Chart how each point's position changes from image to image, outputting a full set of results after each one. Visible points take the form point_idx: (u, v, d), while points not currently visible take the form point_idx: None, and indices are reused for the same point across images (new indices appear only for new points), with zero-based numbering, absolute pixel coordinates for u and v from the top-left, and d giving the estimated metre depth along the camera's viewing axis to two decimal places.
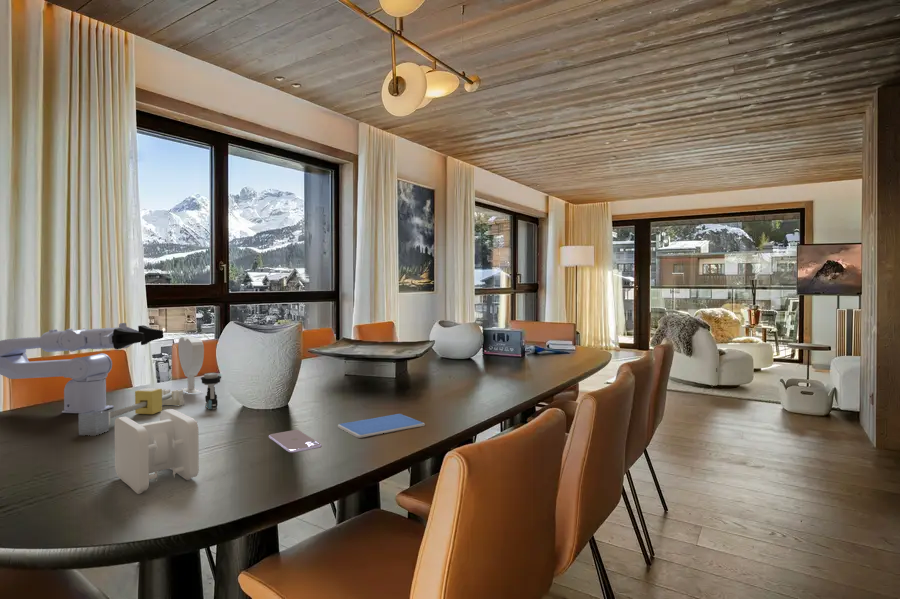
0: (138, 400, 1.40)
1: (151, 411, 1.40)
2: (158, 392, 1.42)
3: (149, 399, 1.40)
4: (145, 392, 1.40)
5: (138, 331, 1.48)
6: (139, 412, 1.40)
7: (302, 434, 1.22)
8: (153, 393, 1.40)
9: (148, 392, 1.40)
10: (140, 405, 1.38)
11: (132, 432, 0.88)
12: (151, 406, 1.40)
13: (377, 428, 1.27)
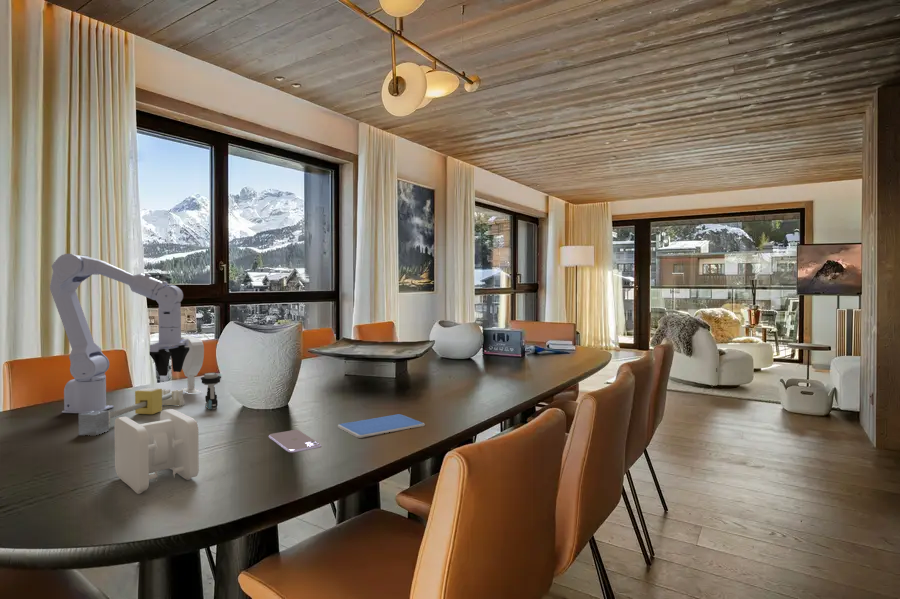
0: (138, 400, 1.40)
1: (151, 411, 1.40)
2: (158, 392, 1.42)
3: (149, 399, 1.40)
4: (145, 392, 1.40)
5: (185, 342, 1.53)
6: (139, 412, 1.40)
7: (302, 434, 1.22)
8: (153, 393, 1.40)
9: (148, 392, 1.40)
10: (140, 405, 1.38)
11: (132, 432, 0.88)
12: (151, 406, 1.40)
13: (377, 428, 1.27)
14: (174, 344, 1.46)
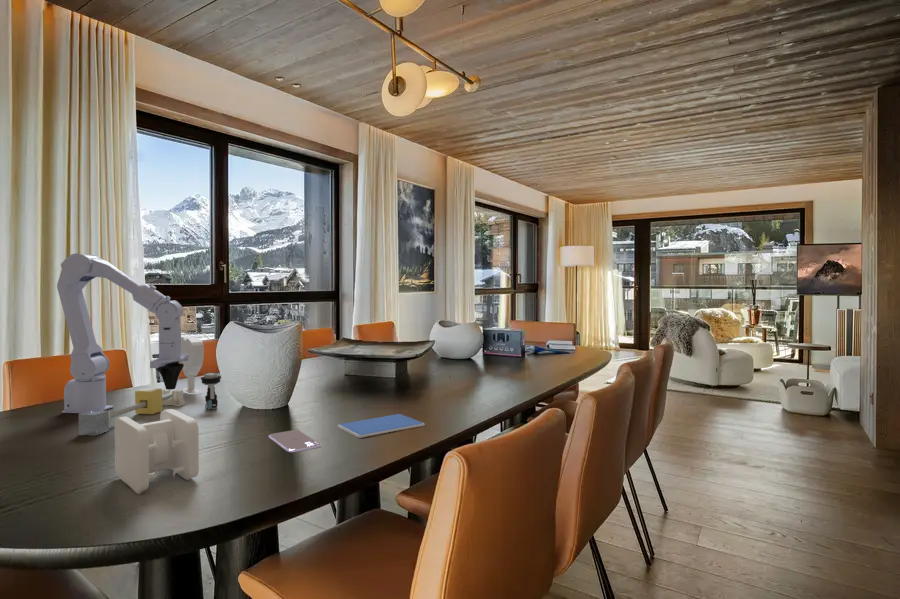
0: (138, 400, 1.40)
1: (151, 411, 1.40)
2: (158, 392, 1.42)
3: (149, 399, 1.40)
4: (145, 392, 1.40)
5: (185, 357, 1.54)
6: (139, 412, 1.40)
7: (302, 434, 1.22)
8: (153, 393, 1.40)
9: (148, 392, 1.40)
10: (140, 405, 1.38)
11: (132, 432, 0.88)
12: (151, 406, 1.40)
13: (377, 428, 1.27)
14: (174, 360, 1.46)
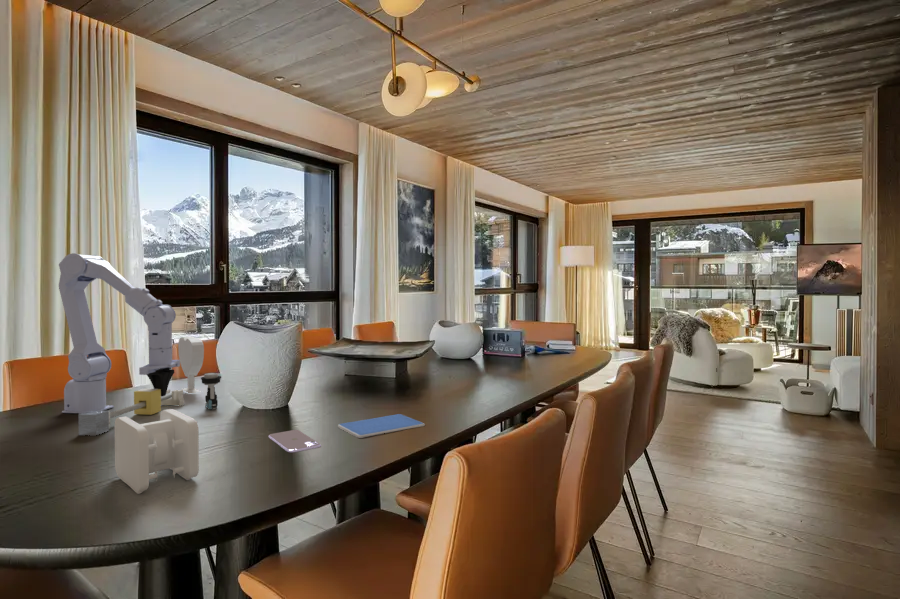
0: (137, 400, 1.40)
1: (150, 411, 1.39)
2: (157, 392, 1.42)
3: (148, 399, 1.39)
4: (144, 392, 1.39)
5: (176, 363, 1.50)
6: (138, 412, 1.40)
7: (302, 434, 1.22)
8: (152, 393, 1.40)
9: (147, 392, 1.39)
10: (140, 405, 1.38)
11: (132, 432, 0.88)
12: (150, 406, 1.39)
13: (377, 428, 1.27)
14: (165, 366, 1.42)
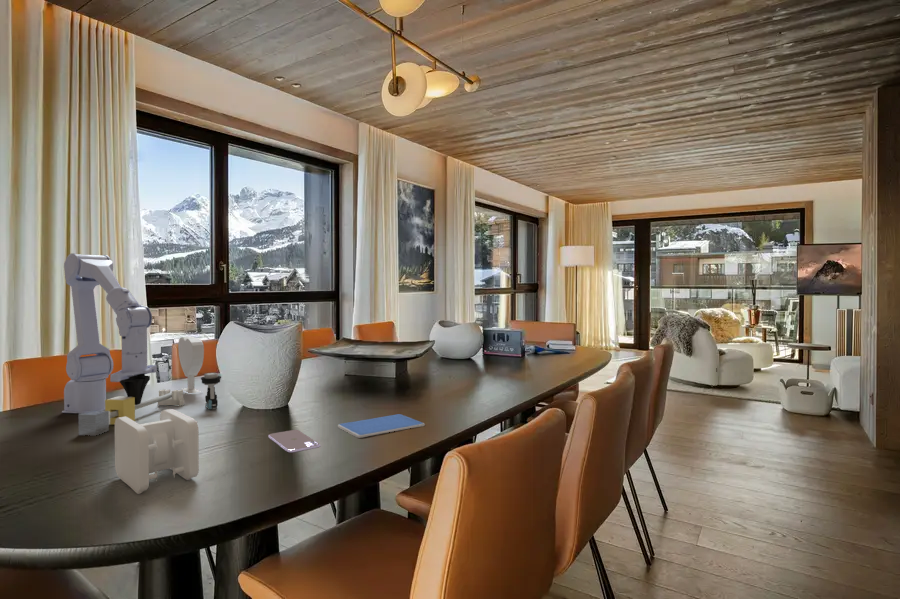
0: (108, 409, 1.30)
1: None
2: (131, 400, 1.32)
3: (120, 408, 1.29)
4: (116, 401, 1.29)
5: (152, 369, 1.39)
6: None
7: (302, 434, 1.22)
8: (124, 402, 1.30)
9: (119, 401, 1.29)
10: (140, 405, 1.38)
11: (132, 432, 0.88)
12: (122, 416, 1.29)
13: (377, 428, 1.27)
14: (139, 372, 1.32)
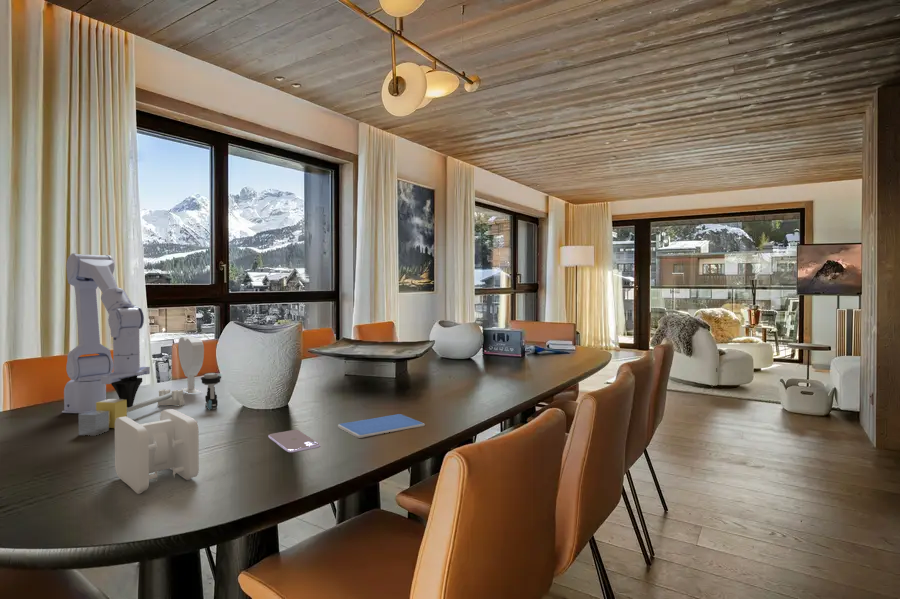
0: None
1: (113, 424, 1.26)
2: (123, 403, 1.29)
3: (111, 411, 1.26)
4: (107, 403, 1.27)
5: (145, 371, 1.37)
6: None
7: (302, 434, 1.22)
8: (116, 405, 1.27)
9: (110, 403, 1.26)
10: (140, 405, 1.38)
11: (132, 432, 0.88)
12: (114, 419, 1.26)
13: (377, 428, 1.27)
14: (131, 374, 1.29)
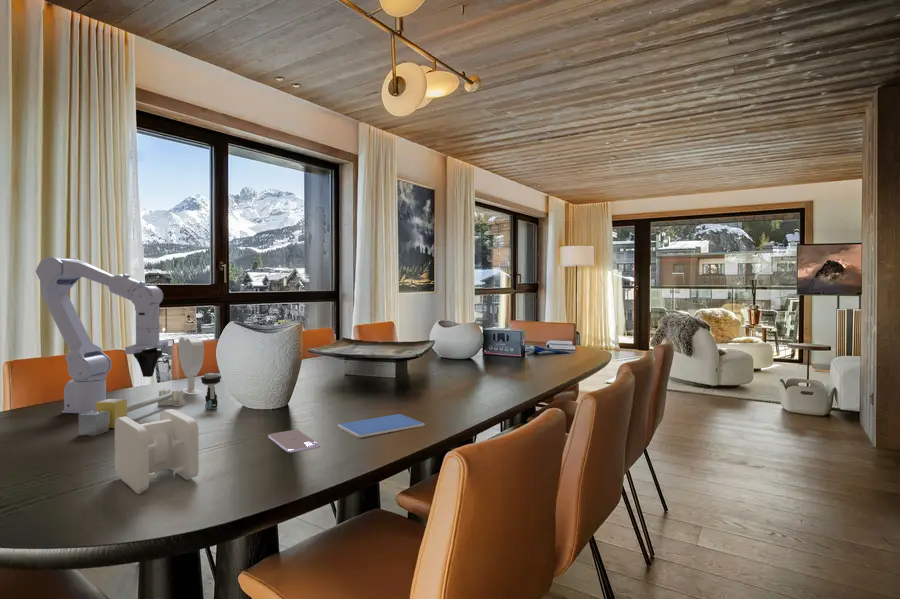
0: None
1: (113, 424, 1.26)
2: (123, 403, 1.29)
3: (111, 411, 1.26)
4: (107, 403, 1.27)
5: (164, 344, 1.49)
6: None
7: (301, 434, 1.22)
8: (116, 405, 1.27)
9: (110, 403, 1.26)
10: (140, 405, 1.38)
11: (132, 432, 0.88)
12: (114, 419, 1.26)
13: (377, 428, 1.27)
14: (151, 346, 1.42)
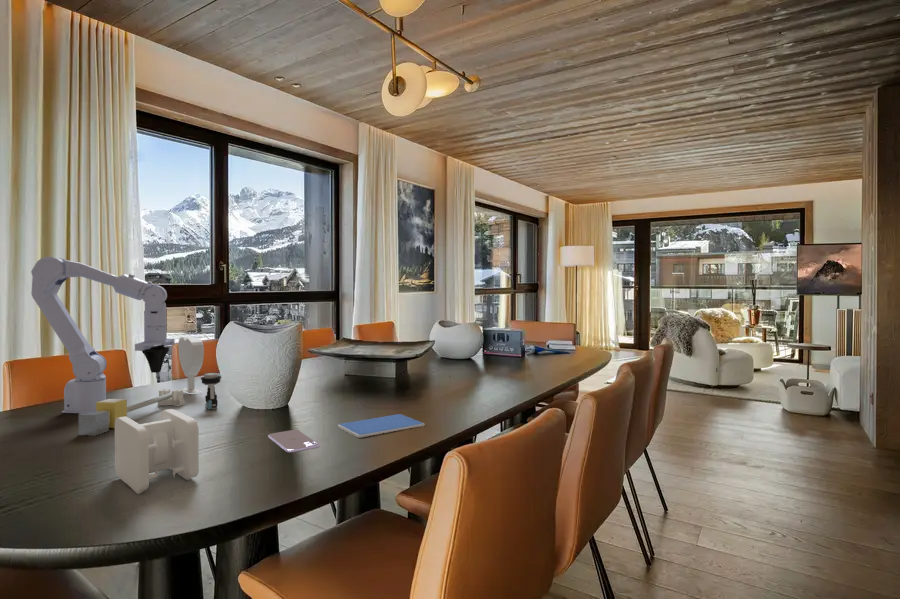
0: None
1: (113, 424, 1.26)
2: (123, 403, 1.29)
3: (111, 411, 1.26)
4: (107, 403, 1.27)
5: (170, 341, 1.56)
6: None
7: (301, 434, 1.22)
8: (116, 405, 1.27)
9: (110, 403, 1.26)
10: (140, 405, 1.38)
11: (132, 432, 0.88)
12: (114, 419, 1.26)
13: (377, 428, 1.27)
14: (159, 343, 1.48)
